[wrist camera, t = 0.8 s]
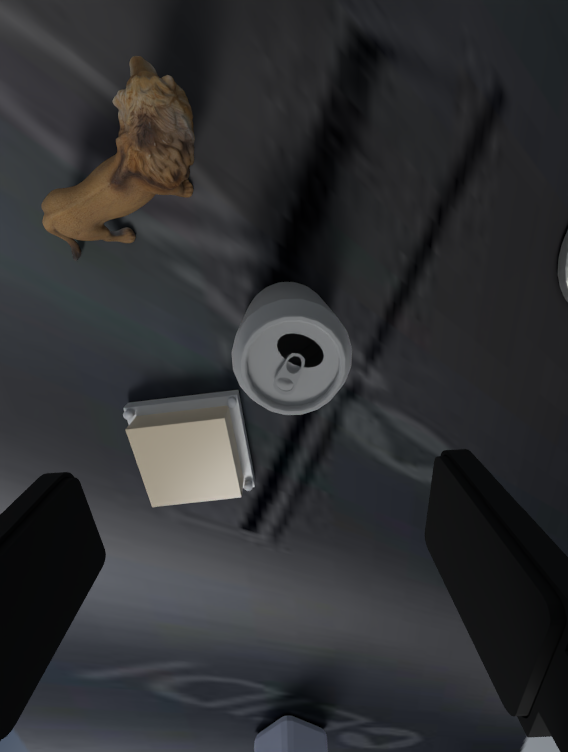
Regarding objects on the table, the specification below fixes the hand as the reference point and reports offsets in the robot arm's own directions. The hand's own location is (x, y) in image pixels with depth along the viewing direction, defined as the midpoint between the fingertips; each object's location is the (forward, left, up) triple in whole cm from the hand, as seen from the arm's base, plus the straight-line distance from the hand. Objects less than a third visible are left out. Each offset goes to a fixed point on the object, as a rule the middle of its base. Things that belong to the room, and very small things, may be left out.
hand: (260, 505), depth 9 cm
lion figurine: (+9, -12, -23) cm, 27 cm away
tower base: (+10, +12, -23) cm, 27 cm away
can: (-1, 0, -23) cm, 23 cm away
